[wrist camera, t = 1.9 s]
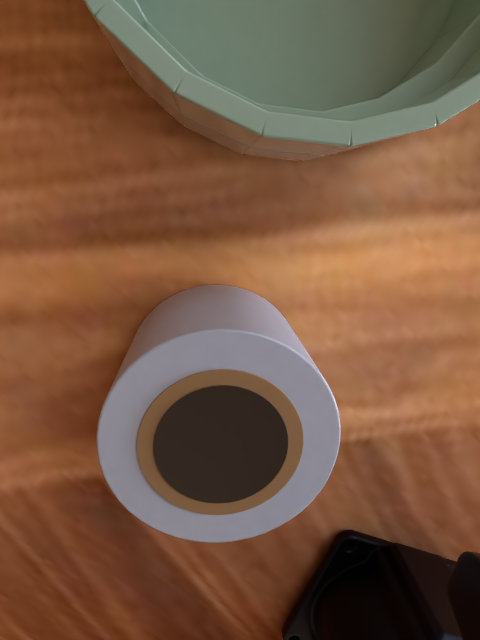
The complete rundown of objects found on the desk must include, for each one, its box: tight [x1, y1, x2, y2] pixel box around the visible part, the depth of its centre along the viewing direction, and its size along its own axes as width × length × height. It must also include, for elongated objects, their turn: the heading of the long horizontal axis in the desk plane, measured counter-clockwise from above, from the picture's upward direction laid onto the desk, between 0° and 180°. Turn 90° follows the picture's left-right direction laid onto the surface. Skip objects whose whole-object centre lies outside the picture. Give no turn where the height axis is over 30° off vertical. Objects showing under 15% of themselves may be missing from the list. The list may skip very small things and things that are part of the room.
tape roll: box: [97, 285, 340, 543], centre depth 13 cm, size 6×6×5 cm
